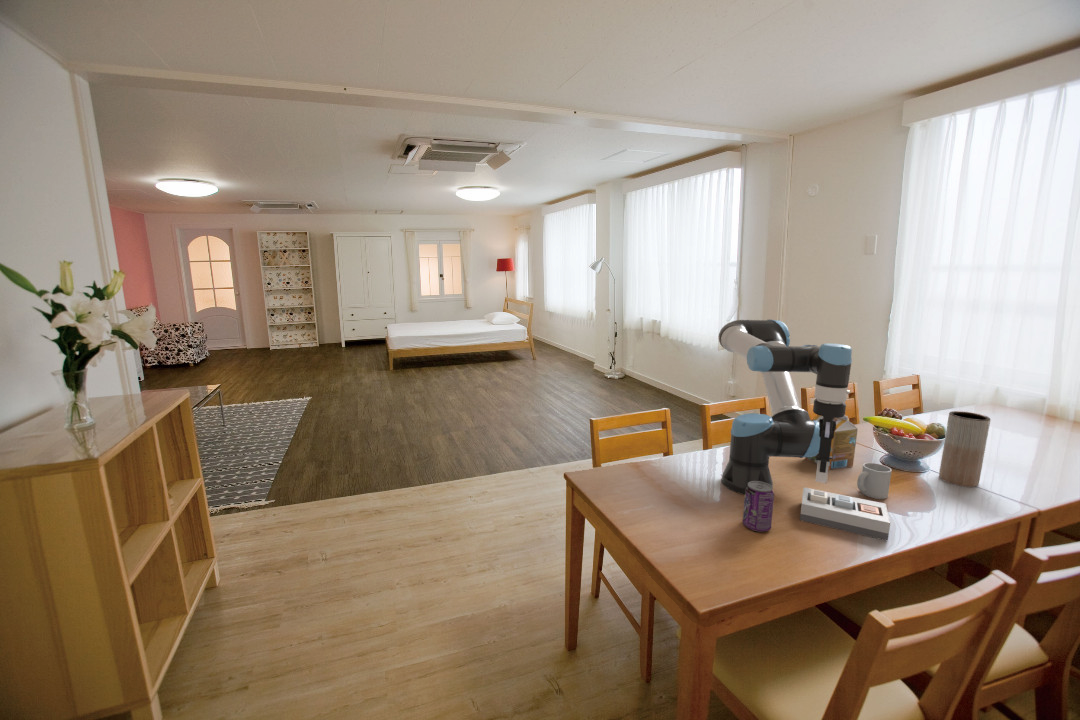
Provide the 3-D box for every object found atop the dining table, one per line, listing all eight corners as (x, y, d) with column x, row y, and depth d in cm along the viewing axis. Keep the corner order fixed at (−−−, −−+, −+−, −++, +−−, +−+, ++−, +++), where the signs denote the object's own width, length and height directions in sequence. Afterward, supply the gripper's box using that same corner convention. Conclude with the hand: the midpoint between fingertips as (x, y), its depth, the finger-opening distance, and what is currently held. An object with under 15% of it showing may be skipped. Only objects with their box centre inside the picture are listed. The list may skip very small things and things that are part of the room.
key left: (809, 504, 133) (811, 494, 133) (810, 498, 137) (811, 488, 136) (826, 508, 131) (827, 497, 131) (826, 502, 135) (827, 491, 134)
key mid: (834, 509, 130) (835, 499, 130) (834, 503, 134) (835, 493, 133) (851, 513, 128) (853, 502, 128) (851, 507, 132) (852, 497, 131)
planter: (949, 485, 153) (960, 418, 149) (932, 473, 163) (942, 409, 158) (986, 489, 151) (998, 421, 147) (966, 476, 160) (977, 411, 156)
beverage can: (746, 517, 133) (750, 477, 131) (773, 525, 129) (777, 484, 127) (738, 527, 128) (742, 486, 126) (766, 536, 123) (770, 494, 121)
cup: (893, 498, 145) (897, 471, 143) (866, 501, 143) (870, 473, 141) (872, 487, 152) (876, 461, 150) (846, 490, 150) (850, 464, 148)
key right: (860, 520, 128) (861, 509, 127) (859, 514, 131) (860, 503, 130) (877, 524, 126) (879, 513, 125) (876, 517, 129) (878, 507, 128)
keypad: (799, 520, 132) (801, 503, 131) (801, 502, 142) (803, 487, 141) (887, 540, 122) (890, 523, 121) (883, 520, 132) (885, 503, 131)
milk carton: (805, 458, 175) (810, 409, 172) (827, 455, 179) (832, 407, 175) (830, 469, 166) (836, 418, 162) (852, 466, 169) (859, 415, 165)
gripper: (847, 408, 121) (837, 493, 125) (845, 397, 132) (836, 476, 136) (813, 404, 125) (805, 487, 129) (814, 393, 136) (806, 470, 140)
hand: (821, 481), depth 133 cm, fingers closed
